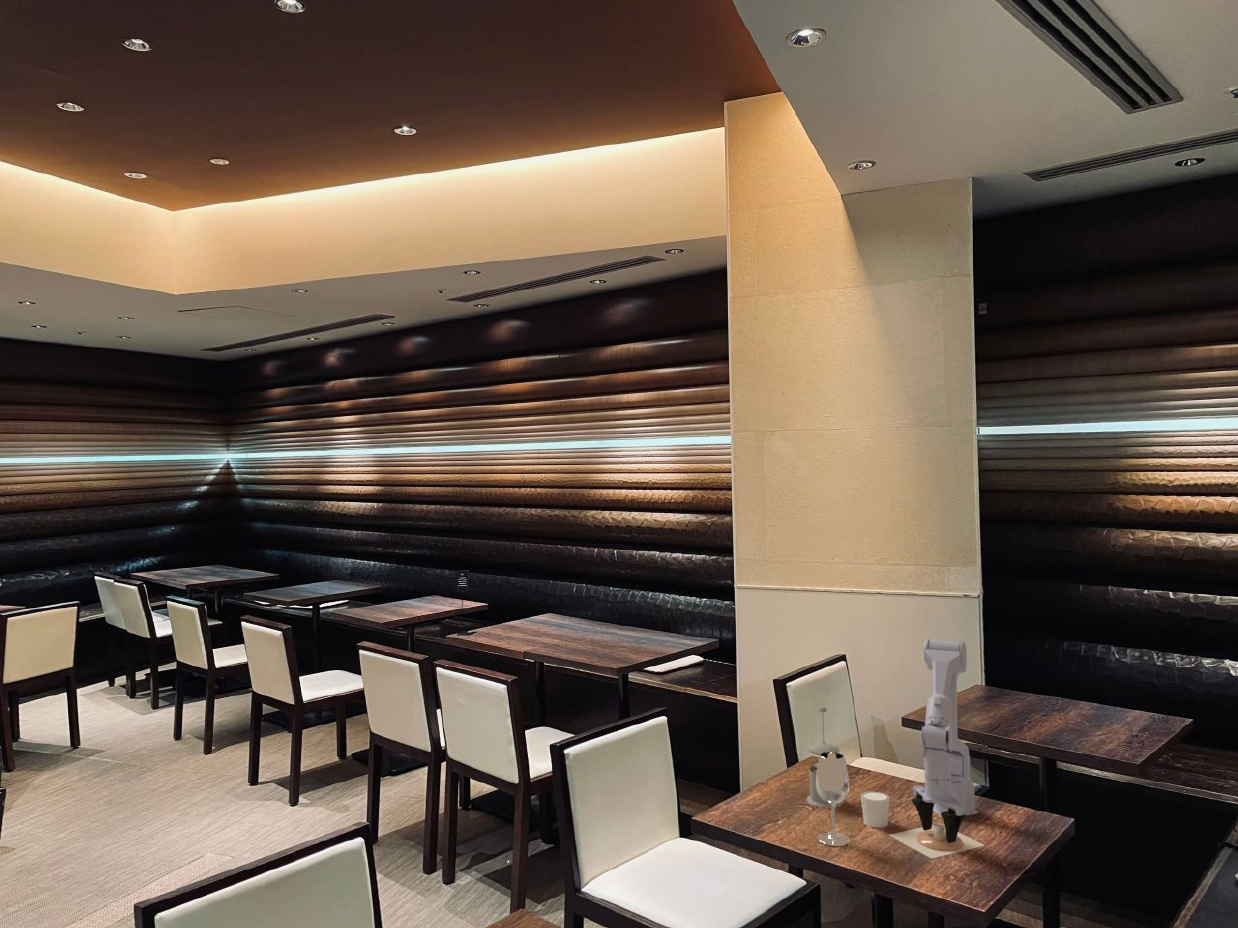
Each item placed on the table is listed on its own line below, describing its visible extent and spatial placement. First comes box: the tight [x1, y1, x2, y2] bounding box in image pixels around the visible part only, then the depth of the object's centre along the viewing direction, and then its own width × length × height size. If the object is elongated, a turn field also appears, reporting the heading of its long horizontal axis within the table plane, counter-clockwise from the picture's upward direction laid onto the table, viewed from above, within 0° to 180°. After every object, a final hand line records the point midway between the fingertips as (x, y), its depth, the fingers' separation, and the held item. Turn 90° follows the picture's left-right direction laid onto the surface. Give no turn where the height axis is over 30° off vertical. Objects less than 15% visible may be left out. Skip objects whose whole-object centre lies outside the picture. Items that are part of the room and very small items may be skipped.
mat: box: [888, 823, 986, 860], centre depth 198 cm, size 16×14×1 cm
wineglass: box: [815, 752, 851, 847], centre depth 200 cm, size 8×8×20 cm
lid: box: [917, 823, 962, 851], centre depth 197 cm, size 10×10×4 cm
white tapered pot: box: [860, 791, 890, 828], centre depth 208 cm, size 7×7×7 cm
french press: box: [806, 706, 847, 809], centre depth 225 cm, size 10×12×25 cm
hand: (939, 835), depth 197 cm, fingers open, 7 cm apart
